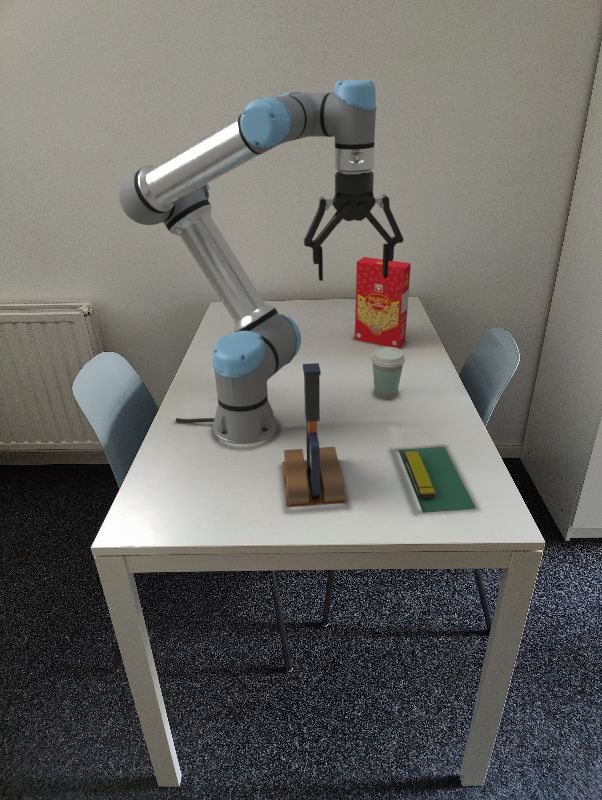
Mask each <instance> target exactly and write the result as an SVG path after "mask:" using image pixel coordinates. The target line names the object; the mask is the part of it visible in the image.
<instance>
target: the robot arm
mask: <svg viewBox="0 0 602 800" xmlns="http://www.w3.org/2000/svg"><path fill="white" fill-rule="evenodd" d="M376 93H377V92H376V84H375V82H374V81H372V80H370V79H346V80H345V79H344V80H338V81H336V82H335V84H334V89H333V91H332V92H301V91H296V92H295V91H294V92H288V93H282V94H280V95H279V96H278V95H277V96H272V97H271V96H267V97H266V96H265V97H260V98H259V99H256V100H253V101H251V102H249V103H247V105H246V106H245V108H244V109H243V112H242V113H240V114H239V115H237V116H235V117H233V118H232V119H230V120H229V121H227V122H225V123H223V124H222V125H220V126H219V127H217V128H215V129H214V130H212V131H211V132H209V133H206V135H204V136H203V137H201V138H199V139H197V140H196V141H194V142H193V143H190V144H189V145H188V146H186V147H184V148H183V149H181V150H179V151H178V152H176V153H174V154H172V155H171V156H169V157H168V158H166V159H164V160H163V161H162V162H159V163H158V164H156V165H153V164H146V165H144V166H142V167H141V168H138V170H136V171H133V172H131V173H129V174H127V176H125V177H124V178H123V180H122V181H121V184H120V186H119V189H118V200H119V205H120V208H121V209H122V211H123V212H124V214H125V215H126V216H127V217H128V218H129V219H130V220H132V221H133V222H135V223H137V224H139V225H144V226H155V225H158V224H162V223H163V225H164V227H165V228H166V229H167V231H168V232H169V233H170V234H172V235H175V236H179V237H180V239H181V240H182V242H183V243H184V245H185V246H186V248H187V250H188V251H189V253H190V254H191V256H192V258H193V259H194V261H195V262H196V264H197V265H198V267H199V268H200V270H201V271H202V273H203V274H204V276H205V278H206V280H207V281H208V282H209V284H210V286H211V287H212V289H213V291H214V292H215V293H216V295H217V297H218V298H219V300H220V301H221V302H222V304H223V306H224V308H225V310H226V311H227V312H228V313H229V315H230V317H231V318H232V320H233V322H234V323H235V324H234V325H235V326H234V330H233V333H228V334H226V335H224V336H222V337H221V338H219V340H217V342H216V343H215V344H214V346H213V349H212V357H213V358H212V366H213V370H214V371H213V372H214V378H215V379H214V381H215V387H216V397H217V407H216V411H215V415H214V417H199V418H198V417H197V418H179V417H176V418H175V422H176V423H181V424H182V423H183V424H196V423H212V430H213V435H214V438H215V439H216V440H217V442H220V441H223V442H226V443H229V444H233V445H234V444H235V445H249V444H255V443H258V442H262V441H264V440H266V439H268V438H269V437H271V436H272V435H273V434H274V433H275V432H276V430H277V428H278V420H277V417H276V415H275V410H274V409H273V408H272V405H271V403H270V401H269V396H268V394H269V393H268V380H270V379H271V378H272V377H273V376H274V375H276V374H277V373H278V372H279V371H280V370H281V369H283V367H285V366H286V365H288V364H290V363H291V362H292V361H293V360H294V358H295V357H296V356H297V354H298V353H299V351H300V349H301V345H302V335H301V331H300V328H299V326H298V325H297V323H296V322H295V321H294V319H293V318H291V317H290V316H286V315H285V314H282V313H280V312H278V310H277V308H276V307H275V306H274V305H271V304H267V303H266V302H265V301H264V299H263V298H262V296H261V295H260V293H259V292H258V290H257V288H256V287H255V285H254V283H253V282H252V280H251V278H250V277H249V276H248V274H247V272H246V271H245V269H244V267H243V265H242V264H241V263H240V261H239V259H238V257H237V256H236V255H235V253H234V252H233V250H232V248H231V247H230V245H229V243H228V242H227V240H226V239H225V237H224V235H223V234H222V232H221V230H220V229H219V228H218V226H217V224H216V223H215V221H214V219H213V218H212V216H211V215H212V210H213V206H212V204H211V203H210V201H209V198H210V192H209V190H210V186H209V183H211V182H213V181H215V180H217V179H218V178H219V177H222V176H224V175H226V174H228V173H230V172H231V171H233V170H235V169H237V168H238V167H240V166H242V165H244V164H246V163H248V162H250V161H251V160H254V159H255V158H256V157H258V156H260V155H262V154H265V153H266V152H268V151H270V150H272V149H274V148H276V147H278V146H280V145H282V144H285V143H288V142H292V141H297V140H300V139H305V138H311V137H313V138H314V137H321V138H322V137H326V138H334V169H335V171H336V172H335V174H334V196H333V198H326V197H324V196H320V197H319V199H318V207H317V209H316V212H315V215H314V217H313V219H312V221H311V223H310V225H309V228H308V229H307V232H306V234H305V236H304V238H303V245H304V246H305V247H308V248H310V249H312V262H313V265H317V266H318V267H317V268H318V273H317V274H318V280H319V282H321V281H324V263H323V259H324V258H323V257H324V256H323V252H324V251H323V247H322V244H323V243H324V242H325V241H326V239H328V237H329V236H330V235H331V233H332V232H333V231H334V230H335V228H336V227H337V226H338V225H339V224H340V223H341V222H342V221H343V220H344V221H346V222H353V221H358V222H360V221H361V222H362V221H363V220H365V219H367V221H368V222H369V223H370V224H371V226H373V228H374V229H375V231H377V232H378V233H379V235H380V236H381V237H382V239H383V240H384V241H385V242H386V243H383V244H382V245H383V246H382V259H383V265H382V275H383V277H384V278H388V261H394V259H395V257H394V255H395V247H396V245H397V244H402V243H403V242H404V241H405V240H404V237H403V234H402V231H401V230H400V227H399V225H398V223H397V220H396V219H395V217H394V214H393V212H392V210H391V206H390V205H391V204H390V197H389V196H388V195H387V194H382V195H381V196H376V197H375V196H374V182H375V181H374V180H375V179H374V178H375V173H374V172H373V171H372V170H373V169H374V168H375V145H376V144H375V139H376V138H375V137H376V118H377V117H376V116H377V98H376V97H377V96H376V95H377V94H376ZM376 204H377V205H378V207H379V208H380V209H382V211H383V213H384V215H385V217H386V219H387V222H388V224H389V226H390V228H391V231H392V233H393V236H391V235H390V234H389V232H388V231H387V230H386V229H385V227H384V226H383V225H382V224H381V223H380V222H379V221H378V219H377V218H376V217H375V216H374V214H373V213H372V212H371V211H372V209H373V208H374V207H375V205H376ZM331 206H332V207H333V208H334V210H335V212H334V214H333V215H332V217H331V218H330V219H329V221H328V222H327V223H326V225H325V226H324V227H323V228H322V230H321V231H320V232H319V233H318V235H317V236H316V237H315V235H316V233H317V231H318V228H319V227H320V224H321V223H322V220H323V218H324V215H325V213H326V211H328V210H329V209H330V207H331ZM314 237H315V238H314Z"/></svg>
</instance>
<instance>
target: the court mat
mask: <svg viewBox="0 0 602 800" xmlns="http://www.w3.org/2000/svg"><path fill="white" fill-rule="evenodd" d="M397 451H398V453H399V456H400V458H401V461H402V464H403V466H404V469H405V471H406V475H407V476H408V479H409V481H410V484H411V486H412V489H413V492H414V494H415V497H416V499H417V501H418V504H419V507H420V510H421V512H422V513H431V512H433V513H434V512H442V511H443V512H445V511H457V510H472V509H476V506H475V504H474V502H473V500H472V498H471V497H470V494H469V493H468V491H467V489H466V486H465V485H464V482H463V481H462V478H461V477H460V475H459V473H458V470H457V469H456V467H455V465H454V464H453V461H452V460H451V457H450V456H449V453H448V451H447V450H446V447H445V446H437V447H422V448H420V447H419V448H407V449H405V448H404V449H397ZM407 451H418V454H419V455H420V457H421V459H422V462H423V464H424V467H425V469H426V471H427V474H428V476H429V478H430V481H431V483H432V485H433V489H434V491H435V497H426V498H421V497H420V495H419V494H418V492H417V490H416V487H415V485H414V482H413V479H412V477H411V474H410V472H409V469H408V466H407V463H406V459H405V456H404V452H407Z"/></svg>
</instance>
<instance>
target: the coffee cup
mask: <svg viewBox="0 0 602 800" xmlns="http://www.w3.org/2000/svg"><path fill="white" fill-rule="evenodd" d="M405 358H406V357H405V354H404V352H403V351H402V349H400V348H399V349H398V348H394V347H388V346H380V347H378V348H376V349H374V350H373V353H372V355H371V357H370V361H371V363H372V375H373V376H372V377H373V388H374V395H375V396H376V397H377V398H378V399H382V400H392V399H395V398H396V397H397V396H398V391H399V387H400V381H401V377H402V373H403V368H404V367H403V366H404V364H405V362H406V359H405Z"/></svg>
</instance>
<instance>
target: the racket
mask: <svg viewBox="0 0 602 800" xmlns="http://www.w3.org/2000/svg"><path fill="white" fill-rule="evenodd" d="M302 371H303V382H304V383H303V385H304V386H303V388H304V389H303V391H304V395H303V396H304V417H305V435H306V437H305V438H306V442H305V443H306V460H307V470H308V477H309V483H310V490H311V496H312V497H320V448H321V447H320V440H319V436H318V422H320V420H321V410H320V409H321V407H320V406H321V405H320V404H321V398H320V397H321V396H320V394H321V393H320V389H321V388H320V385H321V384H320V383H321V382H320V376H321V373H322V371H321V367H320V363H319V362H314V363H302Z"/></svg>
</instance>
